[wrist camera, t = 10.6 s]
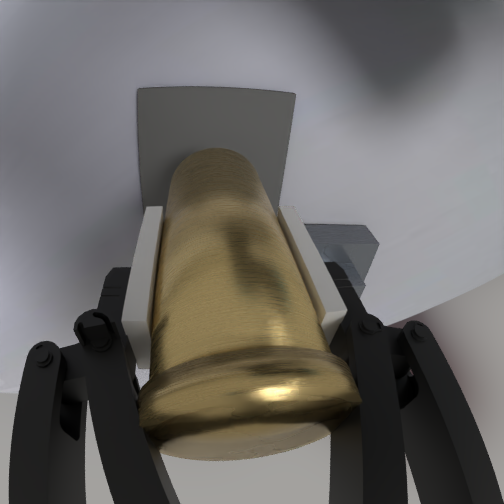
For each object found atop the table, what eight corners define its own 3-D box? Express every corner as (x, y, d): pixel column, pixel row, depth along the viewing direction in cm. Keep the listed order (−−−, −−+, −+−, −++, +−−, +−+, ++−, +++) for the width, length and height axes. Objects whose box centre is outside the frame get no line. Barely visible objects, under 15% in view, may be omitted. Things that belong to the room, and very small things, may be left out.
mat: (139, 88, 17) (137, 89, 17) (293, 93, 19) (296, 94, 19) (145, 220, 24) (144, 224, 24) (274, 219, 26) (275, 223, 26)
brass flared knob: (164, 143, 15) (104, 395, 4) (270, 145, 16) (401, 365, 6) (167, 232, 19) (158, 462, 8) (258, 231, 20) (323, 445, 9)
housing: (221, 224, 26) (228, 271, 21) (365, 225, 28) (394, 264, 24) (217, 326, 34) (222, 371, 29) (329, 318, 37) (345, 357, 32)
